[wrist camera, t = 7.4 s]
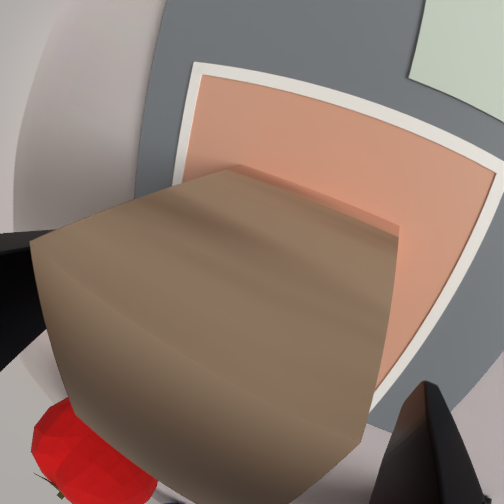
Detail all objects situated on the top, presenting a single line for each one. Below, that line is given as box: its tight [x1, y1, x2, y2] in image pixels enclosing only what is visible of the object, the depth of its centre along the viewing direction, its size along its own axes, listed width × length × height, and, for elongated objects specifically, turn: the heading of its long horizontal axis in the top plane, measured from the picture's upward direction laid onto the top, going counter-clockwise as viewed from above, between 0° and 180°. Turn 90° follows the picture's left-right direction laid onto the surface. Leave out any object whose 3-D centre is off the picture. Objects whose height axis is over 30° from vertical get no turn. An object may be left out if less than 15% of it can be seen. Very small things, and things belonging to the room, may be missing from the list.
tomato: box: [31, 397, 158, 504], centre depth 20 cm, size 11×13×10 cm
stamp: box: [29, 165, 400, 504], centre depth 7 cm, size 5×5×7 cm
